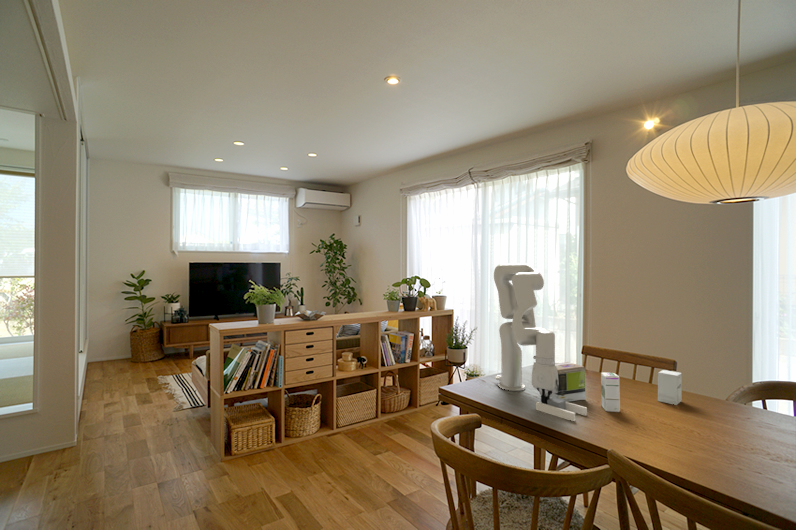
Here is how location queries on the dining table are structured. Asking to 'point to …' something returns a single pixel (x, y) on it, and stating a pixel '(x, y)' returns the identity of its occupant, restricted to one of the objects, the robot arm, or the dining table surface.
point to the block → (556, 403)
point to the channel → (562, 410)
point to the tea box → (570, 382)
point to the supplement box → (670, 387)
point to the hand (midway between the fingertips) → (545, 404)
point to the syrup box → (610, 392)
